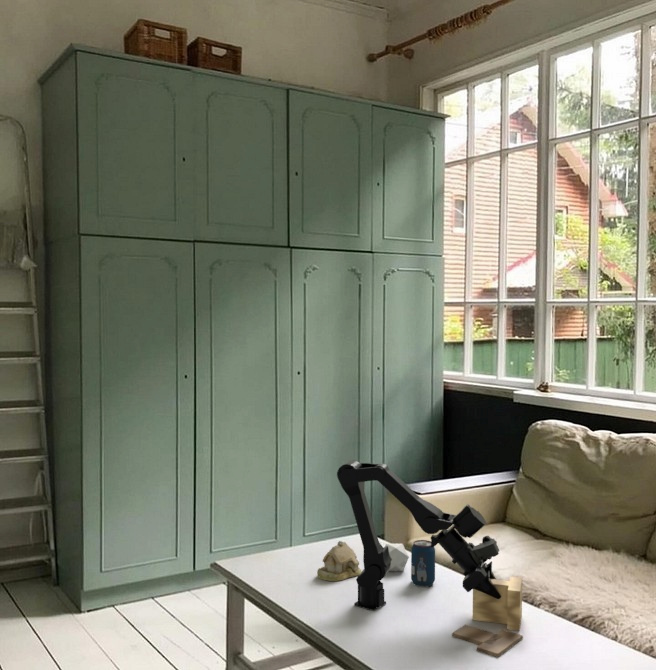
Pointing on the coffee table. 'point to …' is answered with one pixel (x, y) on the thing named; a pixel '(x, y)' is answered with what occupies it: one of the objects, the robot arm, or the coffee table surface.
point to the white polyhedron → (397, 557)
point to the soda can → (422, 563)
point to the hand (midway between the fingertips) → (500, 595)
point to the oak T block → (500, 604)
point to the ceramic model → (339, 563)
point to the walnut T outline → (488, 639)
